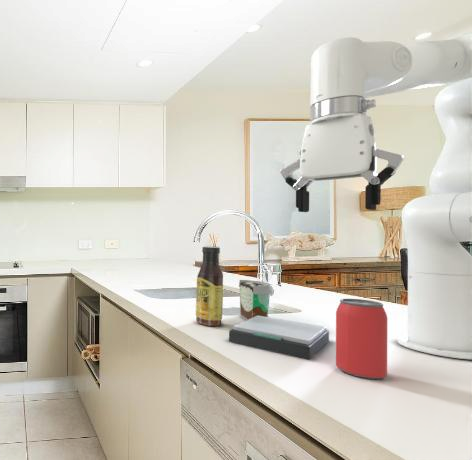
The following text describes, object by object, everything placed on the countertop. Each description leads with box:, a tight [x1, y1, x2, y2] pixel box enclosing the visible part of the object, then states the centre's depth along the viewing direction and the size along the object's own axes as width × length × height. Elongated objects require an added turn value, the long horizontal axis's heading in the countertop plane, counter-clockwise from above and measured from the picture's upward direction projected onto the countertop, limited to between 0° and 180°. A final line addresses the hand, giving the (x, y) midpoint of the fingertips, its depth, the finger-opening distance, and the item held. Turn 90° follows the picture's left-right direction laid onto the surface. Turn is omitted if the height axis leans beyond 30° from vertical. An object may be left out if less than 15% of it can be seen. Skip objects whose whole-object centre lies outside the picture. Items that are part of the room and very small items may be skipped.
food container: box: [238, 279, 274, 321], centre depth 95 cm, size 12×6×10 cm, turn 168°
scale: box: [228, 316, 330, 360], centre depth 77 cm, size 17×14×3 cm
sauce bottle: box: [195, 245, 224, 327], centre depth 91 cm, size 6×6×20 cm
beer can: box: [335, 298, 388, 380], centre depth 60 cm, size 7×7×12 cm
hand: (335, 210), depth 63 cm, fingers open, 9 cm apart
